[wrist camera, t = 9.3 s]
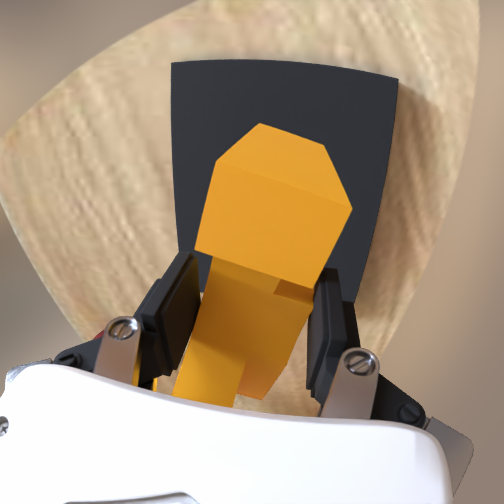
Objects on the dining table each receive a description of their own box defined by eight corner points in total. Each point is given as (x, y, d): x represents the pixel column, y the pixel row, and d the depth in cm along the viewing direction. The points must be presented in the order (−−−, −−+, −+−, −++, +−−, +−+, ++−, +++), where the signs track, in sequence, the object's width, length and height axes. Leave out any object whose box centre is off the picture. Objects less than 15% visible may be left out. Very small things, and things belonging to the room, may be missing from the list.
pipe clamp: (268, 355, 17) (253, 453, 12) (198, 333, 17) (163, 428, 11) (364, 162, 11) (425, 240, 5) (259, 123, 11) (215, 161, 5)
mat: (351, 303, 27) (352, 309, 26) (185, 284, 29) (182, 289, 28) (395, 79, 17) (398, 79, 16) (175, 63, 18) (170, 62, 18)
